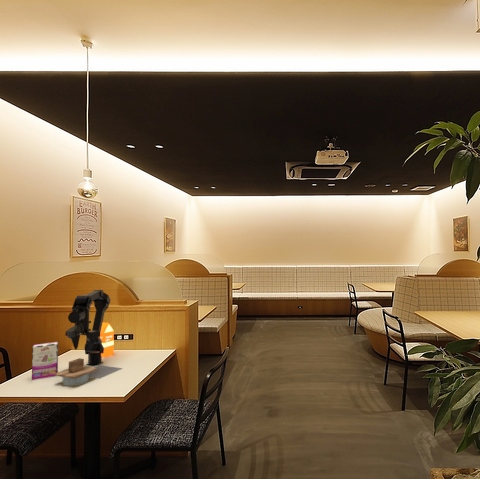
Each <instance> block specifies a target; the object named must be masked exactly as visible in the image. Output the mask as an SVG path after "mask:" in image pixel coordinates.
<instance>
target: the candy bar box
mask: <svg viewBox="0 0 480 479" xmlns="http://www.w3.org/2000/svg"><path fill="white" fill-rule="evenodd" d="M31 349H32V350H31V356H32V357H31V360H32V361H31V381H34V380H39V379H44V378H45V379H47V378H53V377H55V376H54V374H55V373H58V372H59V342H58V341H54V342H46V343H39V344H33V346H32V348H31Z"/></svg>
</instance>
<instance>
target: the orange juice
mask: <svg viewBox="0 0 480 479" xmlns="http://www.w3.org/2000/svg"><path fill="white" fill-rule="evenodd" d="M114 335H115V330H114V329H113V327H112V325H111V324H110V323H109V322H104V321H103V323H102V328H101V333H100V338H101V340H102V345H103V347H104V353H101V358H107V357H111V356H113V355H114V351H115V350H114V346H115V345H114V344H115V343H114V342H115V339H114V338H115V336H114Z"/></svg>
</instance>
